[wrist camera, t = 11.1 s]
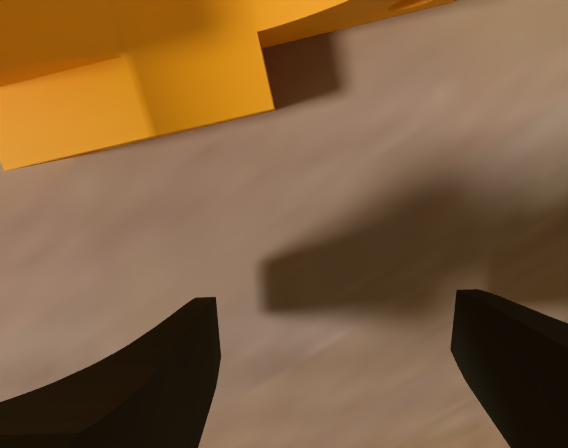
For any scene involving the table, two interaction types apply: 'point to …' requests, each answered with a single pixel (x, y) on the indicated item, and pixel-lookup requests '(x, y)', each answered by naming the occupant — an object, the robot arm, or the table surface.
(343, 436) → the table surface
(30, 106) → the pipe clamp
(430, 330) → the table surface
